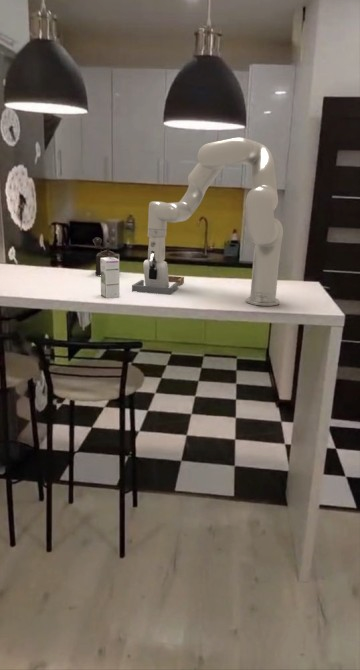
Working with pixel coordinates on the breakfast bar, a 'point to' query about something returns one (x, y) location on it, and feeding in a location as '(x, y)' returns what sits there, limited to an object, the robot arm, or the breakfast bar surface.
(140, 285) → the bay
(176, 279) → the dock
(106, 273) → the syrup box
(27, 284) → the breakfast bar surface
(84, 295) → the breakfast bar surface
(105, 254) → the twin bell alarm clock
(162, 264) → the photo printer
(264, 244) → the robot arm
